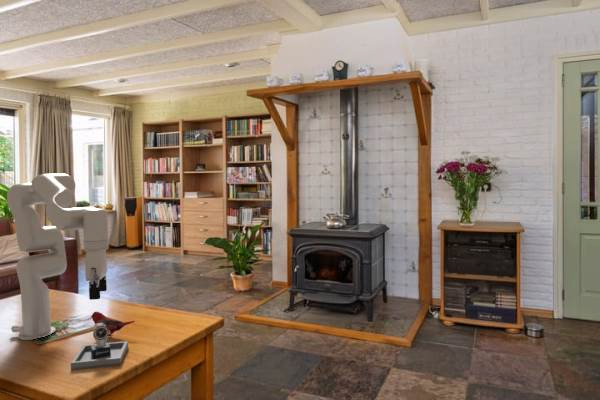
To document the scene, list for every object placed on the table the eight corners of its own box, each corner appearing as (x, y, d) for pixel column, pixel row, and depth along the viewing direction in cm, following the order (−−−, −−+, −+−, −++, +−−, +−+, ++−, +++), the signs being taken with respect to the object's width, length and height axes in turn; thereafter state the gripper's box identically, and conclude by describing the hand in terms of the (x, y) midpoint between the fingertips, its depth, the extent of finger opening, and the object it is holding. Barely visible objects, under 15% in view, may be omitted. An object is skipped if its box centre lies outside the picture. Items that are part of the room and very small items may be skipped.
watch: (93, 361, 145) (92, 329, 144) (90, 353, 152) (89, 322, 151) (112, 357, 148) (110, 325, 147) (107, 349, 155) (106, 319, 154)
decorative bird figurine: (92, 335, 170) (91, 310, 170) (137, 335, 170) (136, 310, 169) (88, 338, 167) (87, 312, 167) (134, 338, 167) (133, 312, 166)
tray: (71, 370, 140) (70, 363, 140) (83, 351, 155) (83, 345, 155) (120, 365, 143) (120, 358, 143) (128, 347, 158) (128, 341, 158)
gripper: (90, 241, 154) (92, 289, 155) (76, 250, 137) (79, 303, 139) (113, 240, 156) (115, 287, 157) (102, 249, 139) (104, 301, 140)
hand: (98, 295), depth 148 cm, fingers open, 9 cm apart
